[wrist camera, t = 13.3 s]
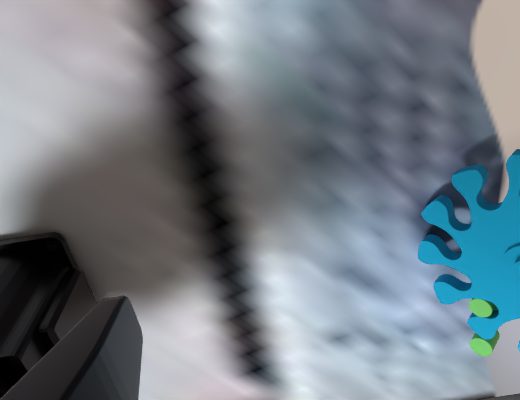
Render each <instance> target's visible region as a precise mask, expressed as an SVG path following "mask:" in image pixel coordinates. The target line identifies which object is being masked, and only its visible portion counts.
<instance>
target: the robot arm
mask: <svg viewBox="0 0 520 400" xmlns="http://www.w3.org/2000/svg"><path fill="white" fill-rule="evenodd" d="M50 242H55V243H56V244H57V245H53V244H51V243H50ZM142 344H143V337H142V330H141V327H140V325H139V322H138V320H137V317H136V314H135V312H134V309H133V307H132V304H131V302H130V300H129V299H128V298H127V297H126V296H118V297H111V298H106V299H103V300H101V301H100V302H99V303H98V304H97V303H96V300H95V298H94V296H93V294H92V291H91V289H90V287H89V285H88V283H87V280H86V278H85V276H84V274H83V272H82V271H81V270H80V269H79V268H78V267H77V264H76V262H75V260H74V258H73V256H72V253H71V251H70V249H69V247H68V245H67V242H66V240H65V239H64V237H63V236H62V235H60V234H58V233H46V234H40V235H33V236H27V237H20V238H14V239H8V240H1V241H0V400H138V396H139V383H140V370H141V357H142Z"/></svg>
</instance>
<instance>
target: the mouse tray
mask: <svg viewBox="0 0 520 400" xmlns="http://www.w3.org/2000/svg"><path fill="white" fill-rule="evenodd" d="M481 400H520V394H514V395H508V396H501V397H494V398H487V399H481Z"/></svg>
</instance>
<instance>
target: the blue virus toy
mask: <svg viewBox="0 0 520 400" xmlns="http://www.w3.org/2000/svg"><path fill="white" fill-rule="evenodd" d="M506 169H507V172H508V175H509V190H508V193H507V195H506V197H505V199H504V201H503V202H502V203H499V204H492V203H489V202H487V201H486V200H485V199H484V198H483V196H482V189H483V187H484V185H485V183H486V182H487V180H488V171H487V169H486V168H485V166H484V165H471V166H468V167H465V168H462V169H460V170H458V171H457V172H456V173H454V174H453V175H452V183H453V186H454V187H455V188H456V189H457V190H458V191H459V192H460V193H461V194H462V195H463V197H464V198H465V199H466V201H467V203H468V205H469V208H470V212H471V221H472V224H463V223H461V222H459V221H458V220H457V219H456V217H455V213H454V206H453V203H452V201H451V200H450V199H449V198H448V197H447V196H445V195H440V196H438V197H437V198H435V199H434V200H433V201H432V202H431V203H430V204H429V205H428V206H427V207H426V208H425V209H424V210H423V212H422V213H421V215H422V217H423V218H424V220H426V221H427V222H428V223H430V224H433V225H436V226H438V227H440V228H442V229H443V230H445V231H446V232H447V233H449V234H450V235H451V236H452V237H453V239H454V240H455V241H456V243H457V244H458V245H459V247H460V248H461V251H462V253H456V252H453V251H451V250H450V249H449V248H448V247H447V245H446V244H445V243H444V241H443V240H442V239H441V238H440V237H438V236H436V235H432V234H429V235H427V236H426V237H425V239H424V240H423V241H422V242H421V244H420V246H419V251H418V259H419V260H420V261H422V262H424V263H426V264H442V265H447V266H449V267H452V268H454V269H456V270H458V271H460V272H461V273H463V274H465V275H466V276H467V277H468V278H469V279H470V280H471V283H465V282H462V281H461V280H459V279H457V278H456V277H454V276H452V275H448V274H444V275H441V276H439V277H438V279H437V280H436V281H435V283H434V290H435V293H436V295H437V297H438V299H439V301H440V303H443V304H452V303H454V302H456V301H458V300H460V299H465V298H472V300H471V301H470V303H469V307H470V310H471V311H472V312H473V313H472V314H471V316H470V318H469V319H468V321H467V323H468V325H469V326H470V327H471V328H472V330H473V331H474V332H475V334H474V336H473V338H472V340H471V341H470V346H471V348H472V350H473V351H474V352H475V353H477V354H479V355H481V356H489V355H490V354H491V353H492V351H493V349H494V347H495V345H496V343H497V341H498V339H499V332H498V328H499V327H500V326H501V325H502V324H503V323H505V322H507V321H511V320H514V319H518V318H520V149H517V150H516V151H515V152H514V153H513V154H512V155H511V156H510V157H509V159H508V160H507V163H506ZM518 348H519V351H520V342H519V345H518Z"/></svg>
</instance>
